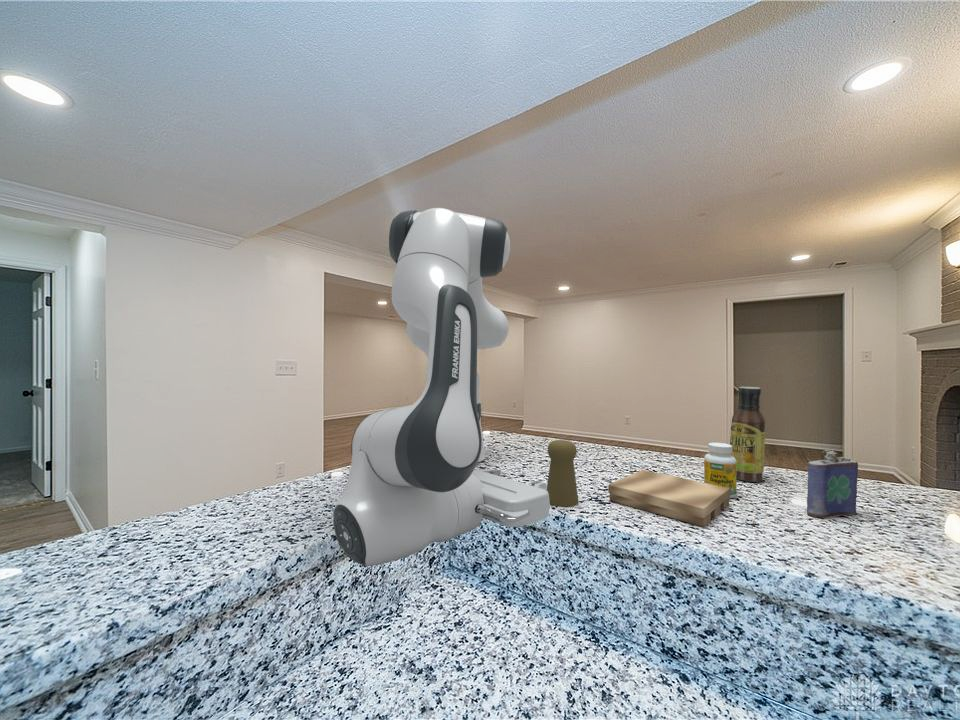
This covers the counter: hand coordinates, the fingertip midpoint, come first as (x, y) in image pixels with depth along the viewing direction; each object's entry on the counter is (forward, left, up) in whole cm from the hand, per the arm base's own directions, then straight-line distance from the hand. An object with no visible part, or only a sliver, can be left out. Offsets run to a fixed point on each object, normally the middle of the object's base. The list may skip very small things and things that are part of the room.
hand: (518, 480), depth 66 cm
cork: (0, +12, -7) cm, 14 cm away
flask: (+35, +40, -7) cm, 54 cm away
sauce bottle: (+20, +52, -7) cm, 56 cm away
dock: (+14, +25, -6) cm, 29 cm away
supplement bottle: (+19, +37, -7) cm, 42 cm away
